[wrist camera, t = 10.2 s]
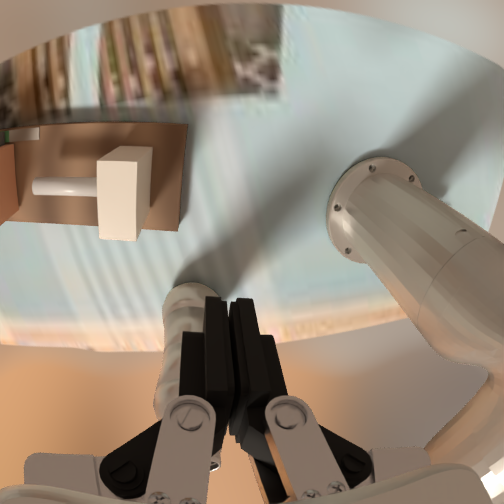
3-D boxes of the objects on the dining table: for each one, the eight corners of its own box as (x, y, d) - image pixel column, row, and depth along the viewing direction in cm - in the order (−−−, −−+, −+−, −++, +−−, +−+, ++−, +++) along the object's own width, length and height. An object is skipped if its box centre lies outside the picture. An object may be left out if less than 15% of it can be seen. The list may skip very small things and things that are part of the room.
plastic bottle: (164, 272, 32) (142, 446, 15) (226, 277, 33) (249, 450, 16) (164, 316, 35) (151, 474, 18) (219, 320, 36) (235, 477, 19)
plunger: (152, 146, 24) (137, 161, 18) (149, 211, 26) (136, 241, 21) (48, 146, 22) (14, 162, 16) (51, 206, 24) (22, 233, 19)
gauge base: (188, 124, 25) (179, 135, 18) (178, 225, 29) (170, 268, 23) (-27, 133, 20) (-72, 151, 13) (-19, 214, 24) (-57, 245, 18)
